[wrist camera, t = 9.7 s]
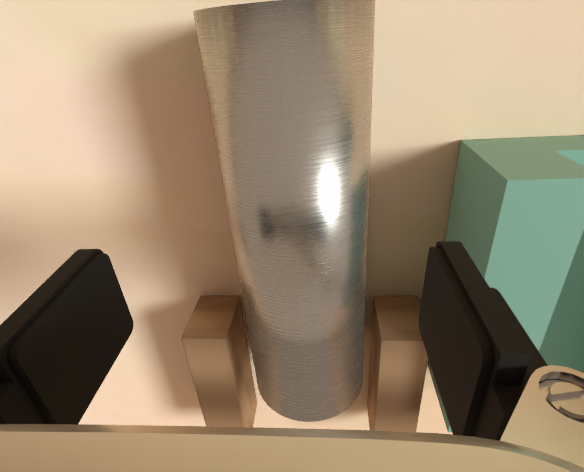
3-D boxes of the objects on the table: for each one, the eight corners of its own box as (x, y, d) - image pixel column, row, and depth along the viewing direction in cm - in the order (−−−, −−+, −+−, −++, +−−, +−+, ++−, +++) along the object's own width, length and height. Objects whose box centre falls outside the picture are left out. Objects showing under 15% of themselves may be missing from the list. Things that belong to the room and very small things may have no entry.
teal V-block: (610, 360, 23) (678, 439, 18) (425, 357, 24) (448, 432, 20) (729, 129, 16) (880, 169, 12) (460, 140, 17) (507, 180, 13)
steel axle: (359, 335, 24) (366, 424, 18) (265, 334, 24) (248, 419, 19) (367, 1, 15) (386, -9, 10) (219, 14, 15) (164, 10, 10)
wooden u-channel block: (401, 407, 26) (411, 457, 23) (225, 402, 28) (212, 449, 25) (415, 296, 22) (431, 340, 18) (200, 296, 23) (181, 338, 20)
